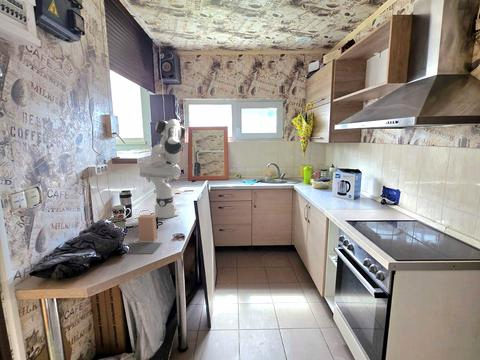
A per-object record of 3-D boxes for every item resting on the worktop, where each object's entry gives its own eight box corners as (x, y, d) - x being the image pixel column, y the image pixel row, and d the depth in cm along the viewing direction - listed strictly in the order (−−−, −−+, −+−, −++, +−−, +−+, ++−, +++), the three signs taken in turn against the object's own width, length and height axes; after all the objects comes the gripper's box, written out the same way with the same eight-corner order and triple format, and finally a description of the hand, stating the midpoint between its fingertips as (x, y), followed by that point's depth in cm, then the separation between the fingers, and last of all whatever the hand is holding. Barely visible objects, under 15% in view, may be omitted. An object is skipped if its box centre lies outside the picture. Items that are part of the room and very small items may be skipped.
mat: (129, 243, 143) (129, 242, 143) (162, 243, 142) (162, 242, 142) (116, 253, 129) (116, 253, 129) (152, 253, 128) (152, 253, 128)
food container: (122, 232, 161) (121, 216, 159) (127, 234, 157) (126, 218, 155) (101, 237, 151) (100, 221, 150) (106, 240, 148) (104, 223, 146)
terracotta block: (143, 238, 149) (141, 215, 147) (157, 238, 149) (155, 215, 147) (139, 242, 144) (138, 217, 142) (154, 242, 144) (152, 217, 142)
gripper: (140, 159, 153) (138, 176, 144) (175, 163, 160) (176, 179, 151) (139, 167, 157) (138, 184, 148) (174, 170, 164) (174, 186, 155)
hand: (157, 182), depth 150 cm, fingers open, 8 cm apart
